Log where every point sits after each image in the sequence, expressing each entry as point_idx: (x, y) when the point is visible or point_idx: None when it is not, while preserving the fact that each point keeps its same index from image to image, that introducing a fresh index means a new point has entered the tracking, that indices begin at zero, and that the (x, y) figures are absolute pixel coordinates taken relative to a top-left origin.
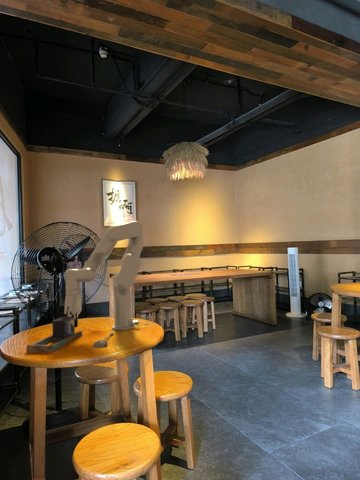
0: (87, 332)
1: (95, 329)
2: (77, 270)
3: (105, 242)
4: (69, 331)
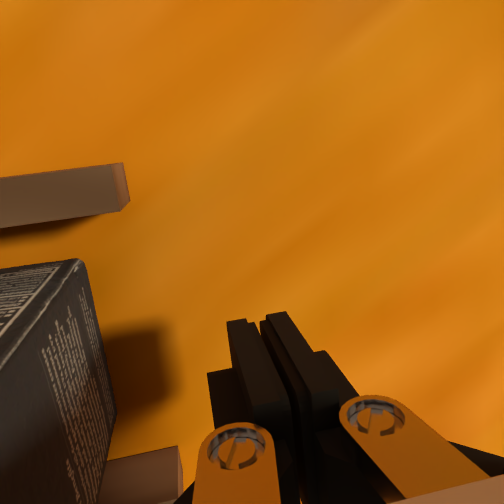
0: None
1: (476, 429)
2: None
3: None
4: None
